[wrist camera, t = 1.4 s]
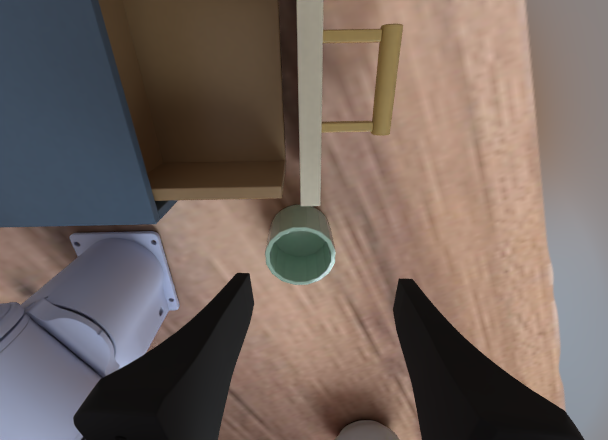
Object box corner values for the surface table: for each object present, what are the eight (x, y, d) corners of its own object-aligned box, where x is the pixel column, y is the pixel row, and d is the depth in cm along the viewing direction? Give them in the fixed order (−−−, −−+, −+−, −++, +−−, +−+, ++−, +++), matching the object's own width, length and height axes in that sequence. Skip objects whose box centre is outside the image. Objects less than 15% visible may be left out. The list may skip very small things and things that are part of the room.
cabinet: (156, -44, 17) (53, -129, 10) (199, 178, 24) (156, 224, 17) (-63, -42, 17) (-329, -126, 10) (41, 181, 24) (-72, 229, 16)
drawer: (395, -38, 17) (446, -97, 11) (373, 171, 23) (399, 204, 17) (109, -35, 17) (8, -93, 11) (162, 174, 23) (115, 210, 17)
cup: (329, 255, 28) (334, 284, 24) (272, 256, 28) (268, 285, 24) (330, 203, 25) (336, 226, 21) (268, 204, 25) (262, 227, 21)
